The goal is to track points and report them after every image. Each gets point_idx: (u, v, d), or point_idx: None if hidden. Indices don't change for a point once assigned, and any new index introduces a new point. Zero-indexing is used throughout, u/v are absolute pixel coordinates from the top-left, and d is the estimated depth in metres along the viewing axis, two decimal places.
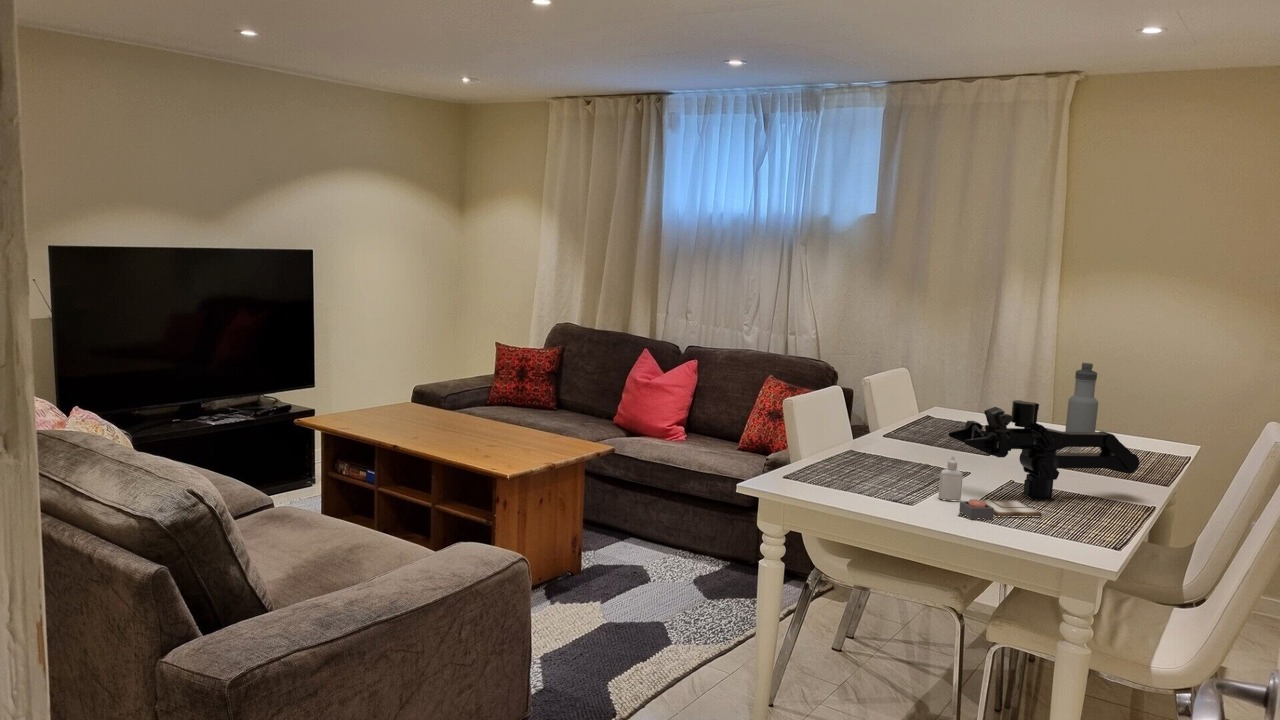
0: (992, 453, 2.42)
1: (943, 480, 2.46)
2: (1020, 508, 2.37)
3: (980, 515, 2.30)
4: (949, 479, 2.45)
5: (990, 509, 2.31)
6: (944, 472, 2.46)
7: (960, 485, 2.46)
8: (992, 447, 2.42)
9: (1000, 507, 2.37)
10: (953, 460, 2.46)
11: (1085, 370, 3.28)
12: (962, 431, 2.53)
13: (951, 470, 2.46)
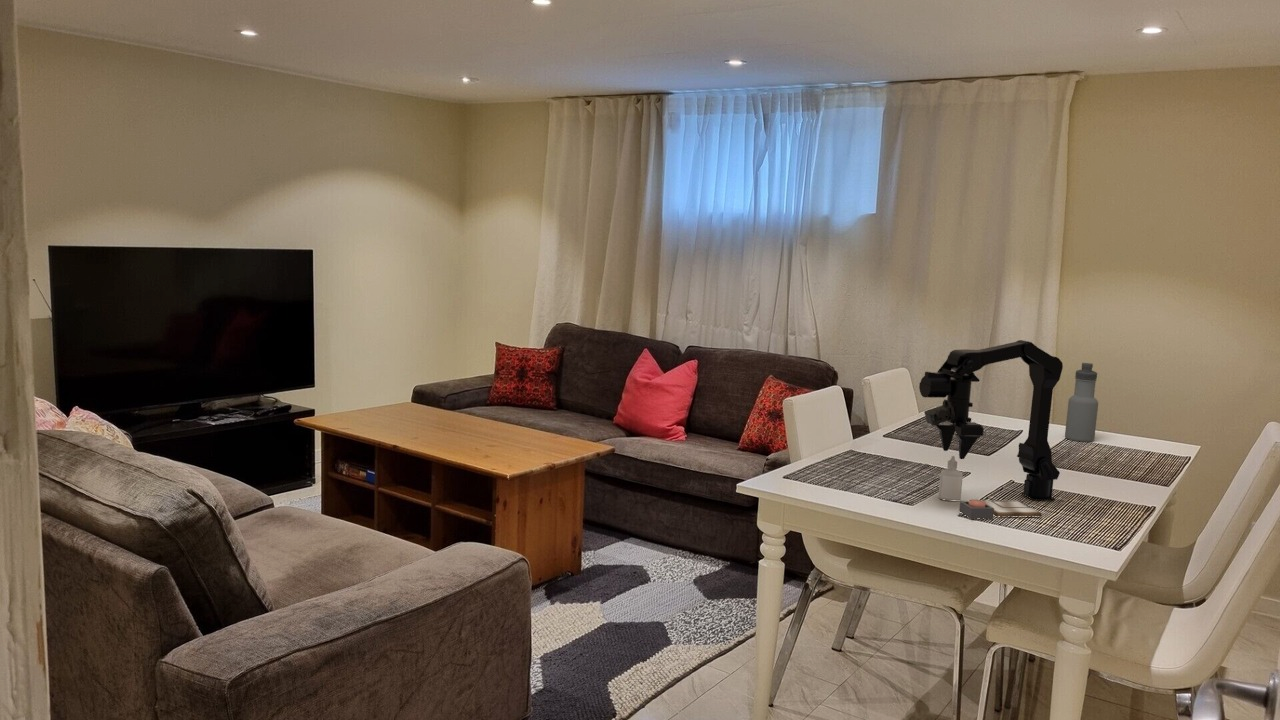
0: (977, 437, 2.38)
1: (943, 480, 2.46)
2: (1020, 508, 2.37)
3: (980, 515, 2.30)
4: (949, 479, 2.45)
5: (990, 509, 2.31)
6: (944, 472, 2.46)
7: (960, 485, 2.46)
8: None
9: (1000, 507, 2.37)
10: (953, 460, 2.46)
11: (1085, 370, 3.28)
12: (943, 436, 2.50)
13: (951, 470, 2.46)
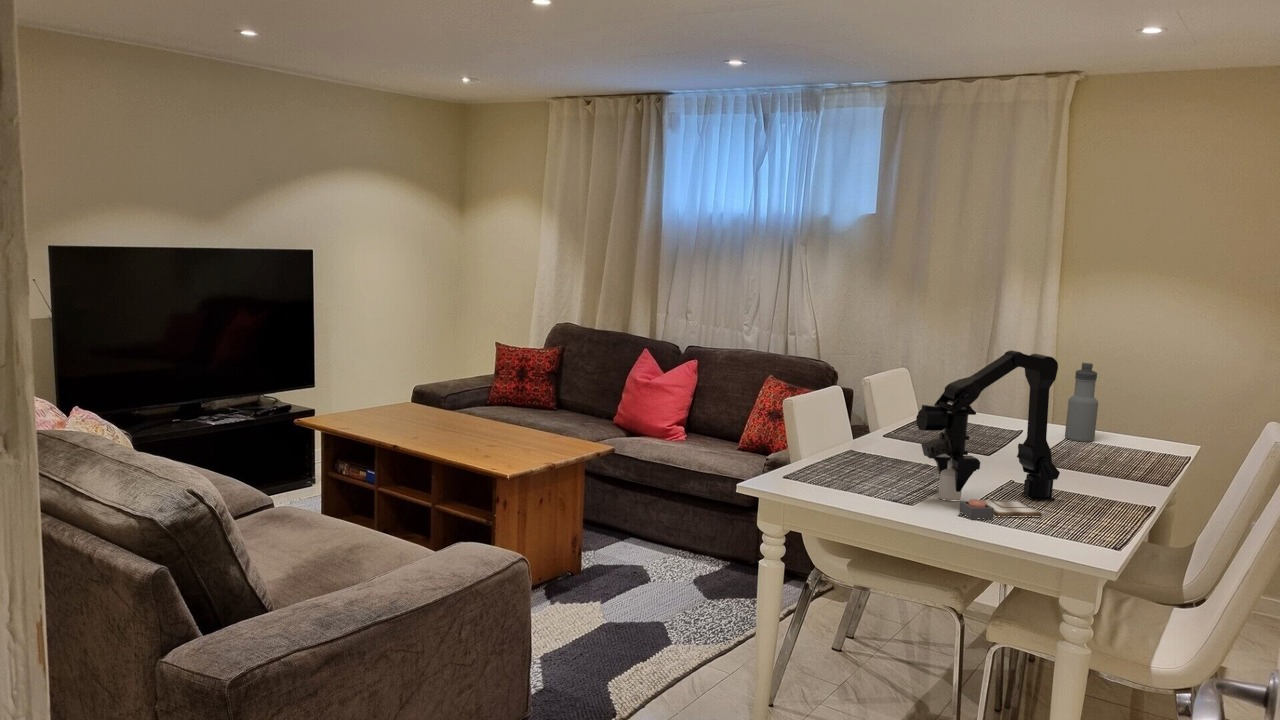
0: None
1: (943, 480, 2.46)
2: (1020, 508, 2.37)
3: (980, 515, 2.30)
4: (949, 479, 2.45)
5: (990, 509, 2.31)
6: (944, 472, 2.46)
7: None
8: None
9: (1000, 507, 2.37)
10: None
11: (1085, 370, 3.28)
12: (941, 468, 2.51)
13: (951, 470, 2.46)
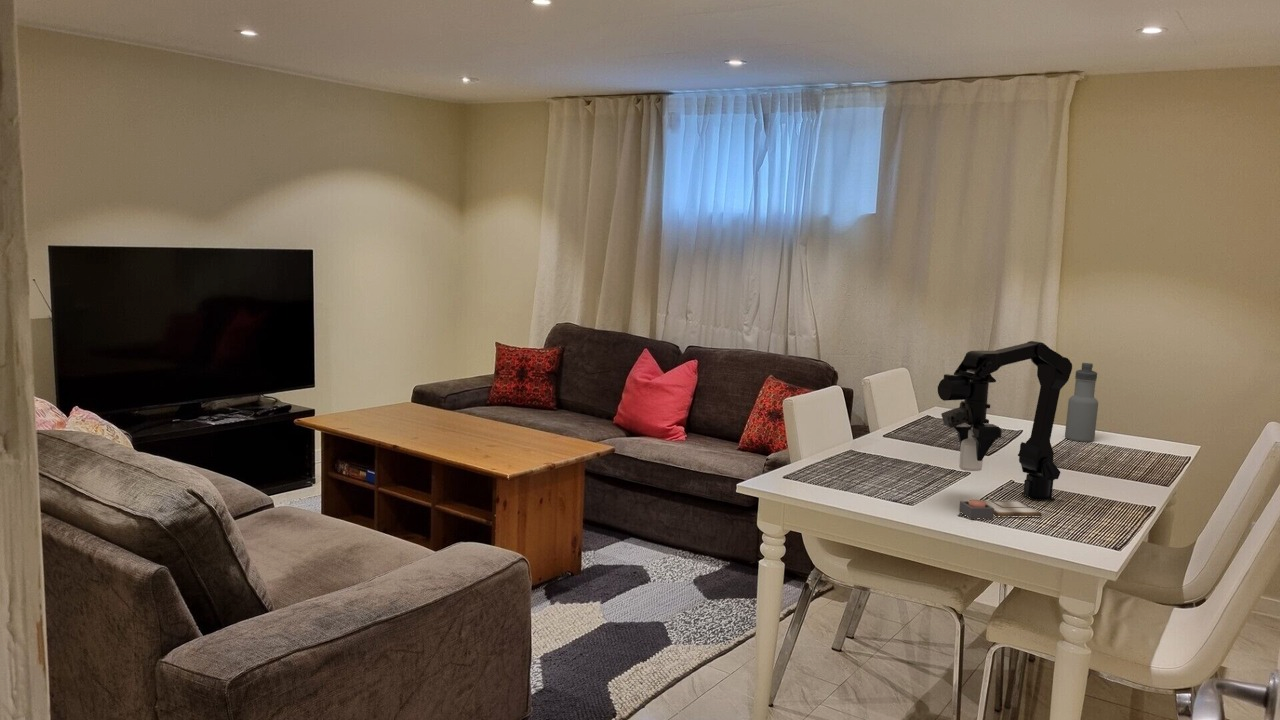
0: None
1: (964, 450, 2.43)
2: (1020, 508, 2.37)
3: (980, 515, 2.30)
4: (971, 448, 2.42)
5: (990, 509, 2.31)
6: (965, 442, 2.43)
7: None
8: None
9: (1000, 507, 2.37)
10: None
11: (1085, 370, 3.28)
12: (961, 438, 2.48)
13: (972, 439, 2.42)
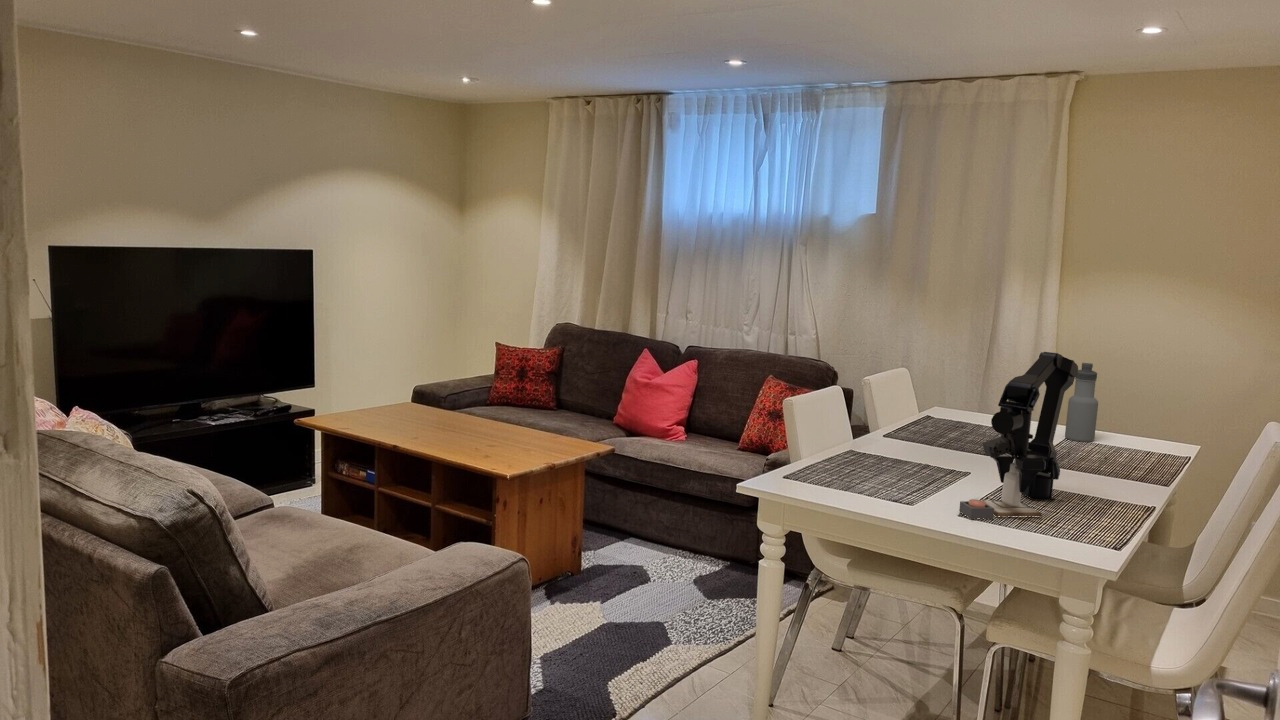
0: (1039, 470, 2.32)
1: None
2: (1020, 508, 2.37)
3: (980, 515, 2.30)
4: (1005, 480, 2.40)
5: (990, 509, 2.31)
6: (1005, 473, 2.41)
7: (1013, 489, 2.38)
8: None
9: (1000, 507, 2.37)
10: (1013, 463, 2.39)
11: (1085, 370, 3.28)
12: (1001, 467, 2.44)
13: (1009, 472, 2.40)
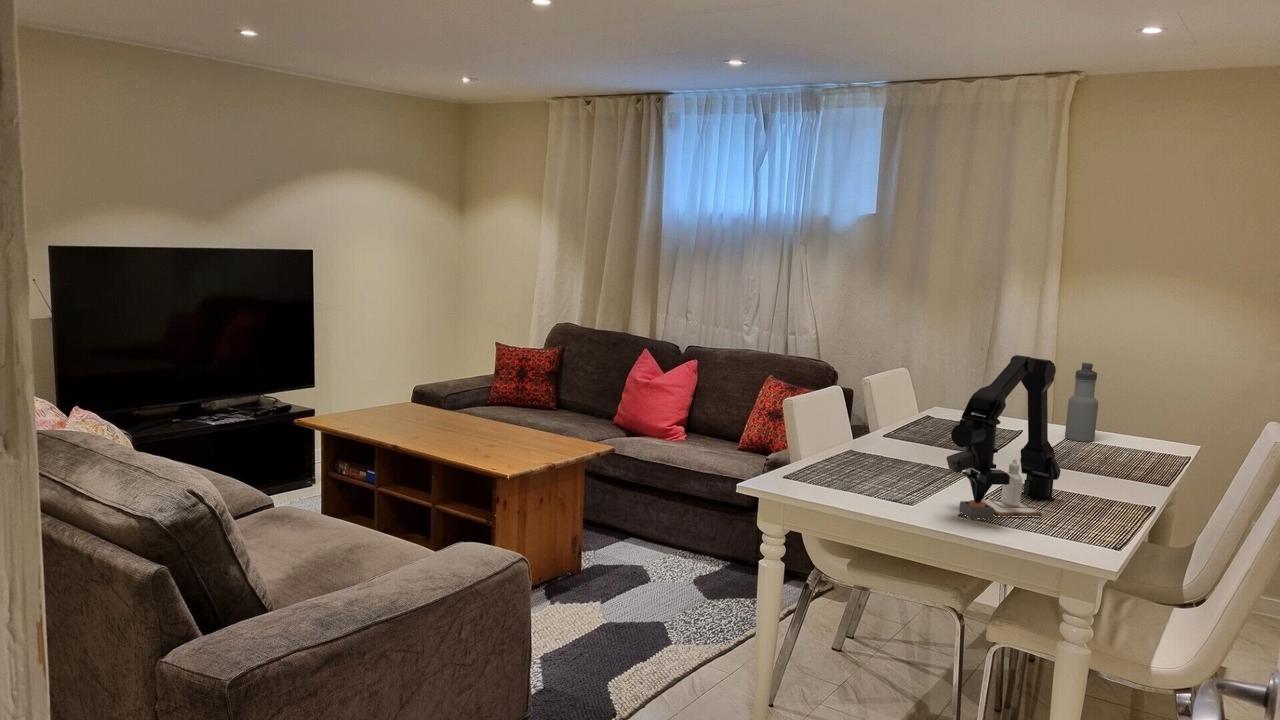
0: None
1: None
2: (1020, 508, 2.37)
3: (980, 515, 2.30)
4: None
5: (990, 509, 2.31)
6: None
7: (1013, 490, 2.38)
8: None
9: (1000, 507, 2.37)
10: (1012, 463, 2.39)
11: (1085, 370, 3.28)
12: (974, 487, 2.33)
13: (1009, 472, 2.40)
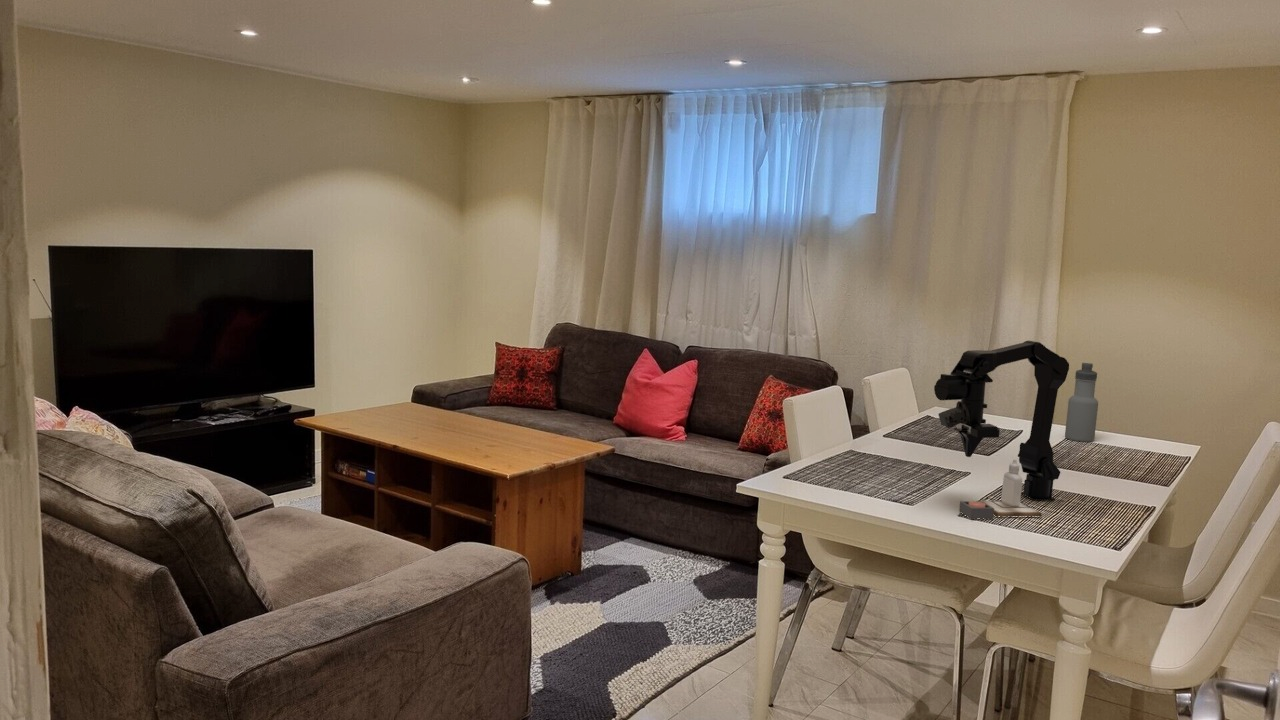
0: None
1: (1003, 481, 2.42)
2: (1020, 508, 2.37)
3: (980, 515, 2.30)
4: (1005, 480, 2.40)
5: (990, 509, 2.31)
6: (1005, 473, 2.41)
7: (1013, 490, 2.38)
8: None
9: (1000, 507, 2.37)
10: (1012, 463, 2.39)
11: (1085, 370, 3.28)
12: (965, 441, 2.43)
13: (1009, 472, 2.40)
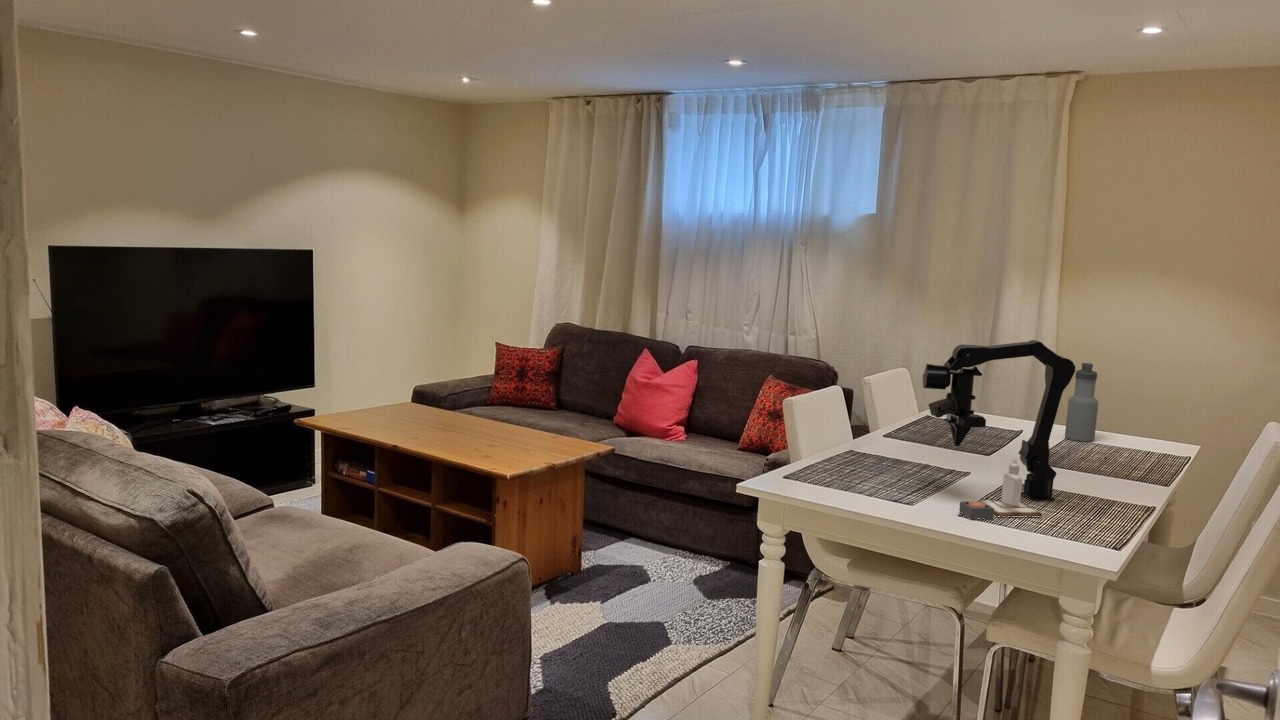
0: None
1: (1003, 481, 2.42)
2: (1020, 508, 2.37)
3: (980, 515, 2.30)
4: (1005, 480, 2.40)
5: (990, 509, 2.31)
6: (1005, 473, 2.41)
7: (1013, 490, 2.38)
8: None
9: (1000, 507, 2.37)
10: (1012, 463, 2.39)
11: (1085, 370, 3.28)
12: None
13: (1009, 472, 2.40)
